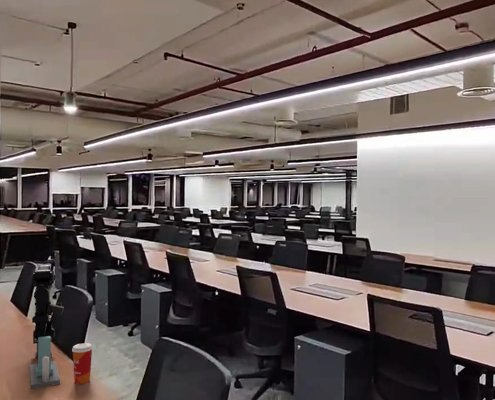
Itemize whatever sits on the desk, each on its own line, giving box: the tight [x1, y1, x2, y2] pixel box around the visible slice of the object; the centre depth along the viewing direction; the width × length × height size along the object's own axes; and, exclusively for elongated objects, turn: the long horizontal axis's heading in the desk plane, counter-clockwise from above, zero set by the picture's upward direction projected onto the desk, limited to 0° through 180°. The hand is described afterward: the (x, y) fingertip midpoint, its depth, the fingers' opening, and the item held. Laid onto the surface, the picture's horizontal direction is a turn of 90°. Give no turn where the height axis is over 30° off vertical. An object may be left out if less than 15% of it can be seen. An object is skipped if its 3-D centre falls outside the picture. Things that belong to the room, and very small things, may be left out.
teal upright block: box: [36, 336, 53, 377], centre depth 176 cm, size 9×6×14 cm, turn 27°
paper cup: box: [71, 342, 93, 385], centre depth 174 cm, size 8×8×14 cm
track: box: [29, 356, 61, 389], centre depth 179 cm, size 23×10×10 cm, turn 27°
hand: (42, 336), depth 190 cm, fingers closed
